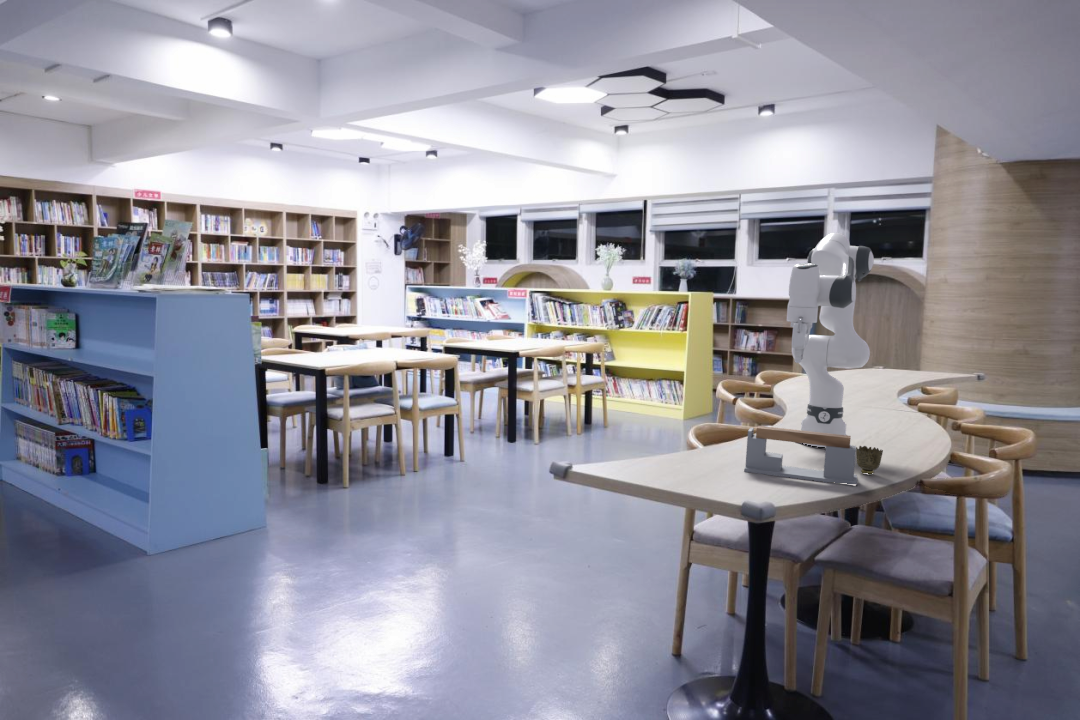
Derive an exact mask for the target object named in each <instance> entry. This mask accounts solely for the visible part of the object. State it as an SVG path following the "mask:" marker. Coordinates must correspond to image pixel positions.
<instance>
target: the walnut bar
mask: <svg viewBox="0 0 1080 720" xmlns="http://www.w3.org/2000/svg"><path fill="white" fill-rule="evenodd" d="M755 430H756V433H755V435H756V438H762V439H767V440H773V441H780V442H781V441H783V442H790V443H797V444H798V443H799V444H802V443H806V444H815V445H823V446H832V447H841V448H849V449H850V445H851V440H852V439H851V435H848V434H846V435H839V434H830V433H820V432H811V431H802V430H801V429H793V428H785V427H784V428H783V427H773V426H765V425H764V426H763V425H757V426H756V429H755Z"/></svg>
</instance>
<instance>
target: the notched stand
mask: <svg viewBox="0 0 1080 720" xmlns="http://www.w3.org/2000/svg"><path fill="white" fill-rule="evenodd" d="M754 430H755V428H754V427H749V429H748V430H747V440H746V453H745V466H744V468H743V470H744V471H743V472H744V473H752V474H760V475H768V476H775V477H783V478H789V477H790V479H797V478H798V479H797V480H804V479H805V480H806V481H812V480H814V481H813V482H820V481H823V482H822V483H827V482H835V483H847V484H857V485H858V475H857V474H855V464H856V447H857V446H856V445H852V444H850V449H849V448H841V447H832V446H826V448H825V452H824V453H825V454H824V465H823V470H821V469H814V468H813V469H812V468H804V467H797V466H789V465H783V457H784V454H783V453H777V452H768V451H767V440H768V439H762V438H756V433H755V434H754ZM835 483H834V484H835Z"/></svg>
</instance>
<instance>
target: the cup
mask: <svg viewBox="0 0 1080 720" xmlns="http://www.w3.org/2000/svg"><path fill="white" fill-rule="evenodd" d="M858 447H859V448H858ZM858 447H857V446H856V456H855V460H856V464H857V466H858V468H860V473H861V472H862V473H868V474H872V473H874V474H875V470H877V469H878V468H879V467H880V466H881V465H880V464H881V461H882V457H883V453H884V450H883V449H879V448H878V447H877V448H876V447H873V448H872V446H869V448H868V447H867V446H866V445H863V446H861V445H859V446H858ZM862 473H861V474H862Z"/></svg>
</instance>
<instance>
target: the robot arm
mask: <svg viewBox="0 0 1080 720" xmlns="http://www.w3.org/2000/svg"><path fill="white" fill-rule="evenodd" d="M874 263H875V259H874V254H873V251H872V249H871V248H870V247H868V246H864V245H859V246H856V245H851V244H850V240H849V238H848V237H847V236H846V235H845V234H843V233H841V232H831V233H828V234H827V235H826V236H824V237H823V238H822V239H820V241H818V243H817V244H816V246H815V248H812V250H810V251H809V253H808V255H807V260H806V262H804V263H797V264H795V265H793V266H792V269H791V273H790V278H789V286H788V296H789V299H788V303H787V309H786V322H790V325H789V326H790V328H792V336H791V354H792V355H791V356H792V357H793V359H794V363H796V364H799V366H800V367H802V369H803V370H804V372H805V373H806V376H807V380H808V382H809V383H808V384H809V400H808V404H807V407H806V416H805V417H804V418H803V419H802V420H801V422H800V425H801V426H800V430H802V431H811V432H820V433H830V434H839V435H847V423H846V421H844V420H843V417H844V407H843V401H844V385H843V383H842V382H841V381H840V380H839V379H837V378H836V377H833V375H830V373H829V372H828V368H837V369H859V368H863V367H864V366H866V364H867V363H868V362H869V359H870V355H871V351H870V350H871V349H870V347H869V345H868V342H866V341H865V340H864V339H863V338H862V337H861V336H860V335H859V334H858V333H857V332H856V330H855V327H854V313H855V308H856V307H855V305H856V299H857V286H856V285H857V284H856V279H857V281H858V282H861V281H862V280H863V278H865V277H866V276H868V275H869V274H870V273H871V271H872V269H873V266H874ZM819 307H820V311H819ZM818 311H819V312H818ZM818 313H819V316H818ZM818 317H819V318H818ZM818 319H819V322H820V324H821V325H822V327H824V328H825V329H827V330H829V331H831V332H833V333H834V334H833V335H823V334H822V335H819V334H811V330H812V328H813V324H814V323H815V324H816V323H817V322H818ZM805 444H806V443H803V445H805ZM808 445H811V446H810V447H812V446H817V447H816V448H818V447H826V446H823V445H815V444H807V445H806V446H808Z"/></svg>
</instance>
